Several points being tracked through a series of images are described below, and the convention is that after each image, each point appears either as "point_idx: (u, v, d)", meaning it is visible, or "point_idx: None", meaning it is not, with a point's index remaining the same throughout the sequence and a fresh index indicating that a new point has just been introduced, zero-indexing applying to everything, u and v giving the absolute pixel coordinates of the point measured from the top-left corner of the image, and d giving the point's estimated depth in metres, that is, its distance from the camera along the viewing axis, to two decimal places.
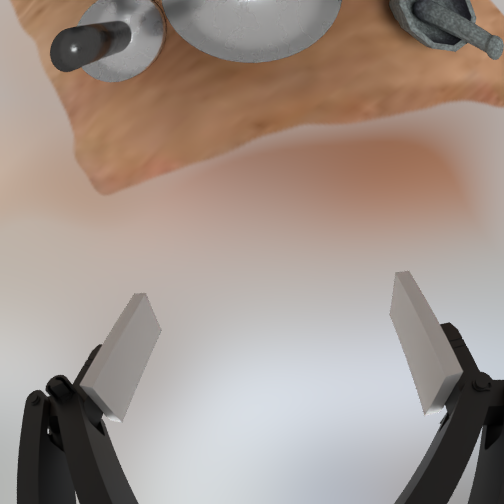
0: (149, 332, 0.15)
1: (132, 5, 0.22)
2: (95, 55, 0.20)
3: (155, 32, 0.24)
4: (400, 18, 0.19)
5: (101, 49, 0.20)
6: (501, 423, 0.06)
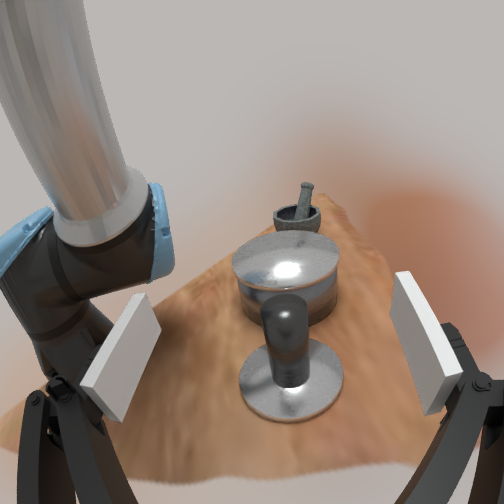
0: (149, 332, 0.15)
1: (265, 354, 0.35)
2: None
3: None
4: (307, 227, 0.56)
5: None
6: (501, 423, 0.06)
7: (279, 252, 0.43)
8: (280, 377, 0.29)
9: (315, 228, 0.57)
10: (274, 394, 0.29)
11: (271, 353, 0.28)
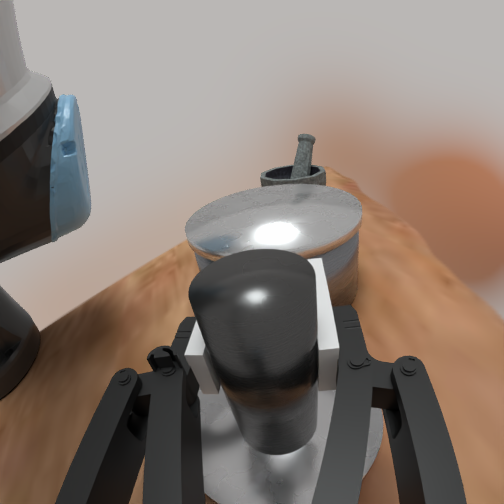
0: None
1: None
2: None
3: None
4: None
5: None
6: None
7: (263, 208, 0.27)
8: (253, 437, 0.12)
9: None
10: (242, 466, 0.12)
11: (227, 393, 0.11)
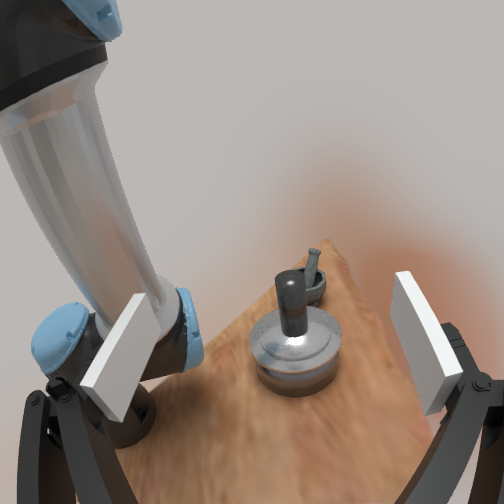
0: (149, 332, 0.15)
1: (276, 317, 0.51)
2: None
3: None
4: (313, 294, 0.61)
5: None
6: (501, 423, 0.06)
7: None
8: (288, 328, 0.45)
9: (321, 294, 0.62)
10: (283, 341, 0.45)
11: (282, 309, 0.44)
